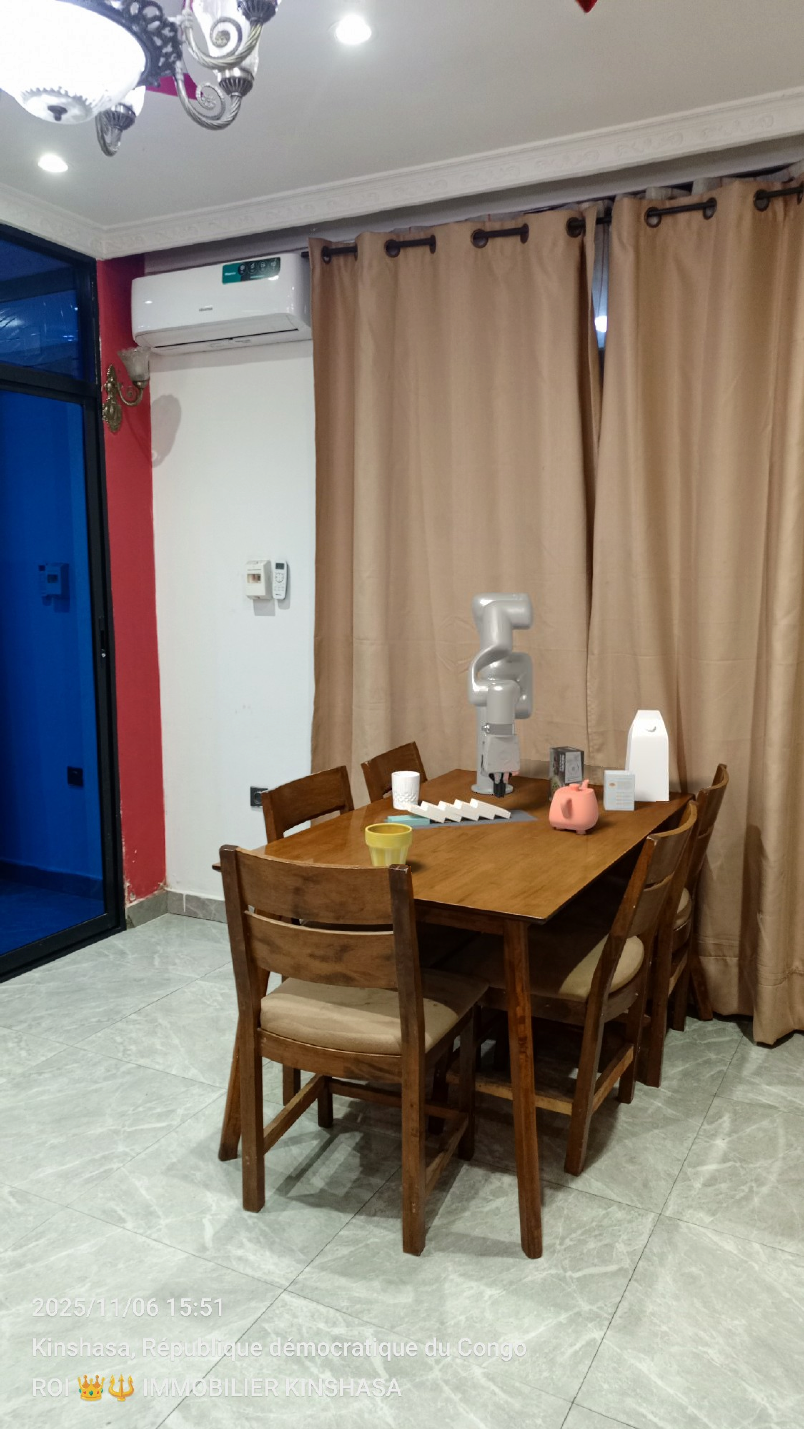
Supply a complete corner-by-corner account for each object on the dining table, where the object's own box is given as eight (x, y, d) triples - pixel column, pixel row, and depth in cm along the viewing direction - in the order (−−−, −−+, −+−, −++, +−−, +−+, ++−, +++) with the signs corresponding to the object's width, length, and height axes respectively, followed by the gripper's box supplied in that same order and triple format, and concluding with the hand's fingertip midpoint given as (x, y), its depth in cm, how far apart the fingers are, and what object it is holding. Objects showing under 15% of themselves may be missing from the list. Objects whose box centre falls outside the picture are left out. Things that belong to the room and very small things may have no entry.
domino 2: (437, 818, 257) (404, 807, 254) (439, 813, 257) (406, 801, 254) (443, 823, 252) (409, 811, 249) (445, 817, 252) (411, 805, 249)
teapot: (585, 840, 238) (586, 793, 236) (539, 835, 243) (540, 788, 242) (607, 823, 255) (609, 778, 254) (564, 817, 261) (565, 774, 259)
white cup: (385, 808, 271) (385, 773, 270) (406, 804, 276) (406, 769, 275) (404, 813, 265) (404, 777, 264) (425, 809, 271) (425, 774, 269)
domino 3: (453, 817, 258) (420, 806, 255) (455, 812, 258) (422, 800, 255) (459, 822, 254) (426, 810, 251) (461, 816, 254) (428, 805, 251)
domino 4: (470, 816, 260) (438, 806, 257) (472, 810, 260) (440, 800, 257) (477, 821, 255) (443, 810, 252) (479, 815, 255) (446, 804, 252)
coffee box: (583, 806, 274) (585, 750, 272) (564, 808, 271) (565, 752, 269) (566, 799, 282) (568, 745, 280) (547, 801, 280) (549, 746, 278)
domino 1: (423, 819, 256) (387, 822, 253) (423, 814, 256) (387, 816, 253) (429, 824, 251) (392, 827, 249) (429, 818, 251) (392, 821, 248)
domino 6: (501, 814, 262) (469, 803, 259) (503, 808, 262) (471, 798, 259) (508, 818, 258) (476, 807, 254) (510, 813, 258) (478, 802, 254)
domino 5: (486, 815, 261) (453, 804, 258) (488, 809, 261) (455, 799, 258) (492, 819, 256) (460, 809, 253) (495, 814, 256) (462, 803, 253)
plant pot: (388, 861, 220) (388, 819, 219) (421, 870, 213) (422, 828, 212) (355, 871, 213) (355, 828, 212) (389, 881, 206) (388, 837, 204)
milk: (663, 793, 291) (667, 708, 287) (668, 801, 280) (672, 713, 276) (623, 792, 293) (626, 707, 289) (626, 800, 281) (629, 712, 278)
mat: (382, 821, 257) (382, 819, 257) (521, 811, 268) (521, 809, 268) (394, 832, 245) (394, 830, 245) (538, 821, 256) (538, 820, 256)
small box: (631, 806, 274) (632, 770, 272) (634, 811, 268) (635, 774, 267) (602, 805, 275) (604, 769, 273) (605, 810, 269) (606, 773, 268)
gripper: (479, 732, 250) (478, 801, 253) (532, 730, 255) (530, 798, 257) (469, 728, 258) (468, 795, 260) (520, 726, 262) (519, 792, 264)
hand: (499, 796), depth 259 cm, fingers closed
